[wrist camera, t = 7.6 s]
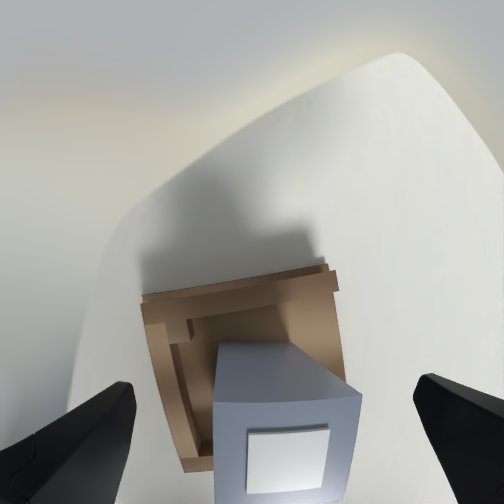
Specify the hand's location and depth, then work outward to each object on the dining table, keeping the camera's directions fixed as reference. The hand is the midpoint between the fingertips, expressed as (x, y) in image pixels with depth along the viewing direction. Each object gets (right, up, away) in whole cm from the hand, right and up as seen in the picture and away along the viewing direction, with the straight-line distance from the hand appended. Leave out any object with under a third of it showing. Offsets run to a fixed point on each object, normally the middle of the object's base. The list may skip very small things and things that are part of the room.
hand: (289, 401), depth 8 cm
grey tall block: (-1, -3, +10) cm, 11 cm away
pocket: (-1, -3, +10) cm, 11 cm away
